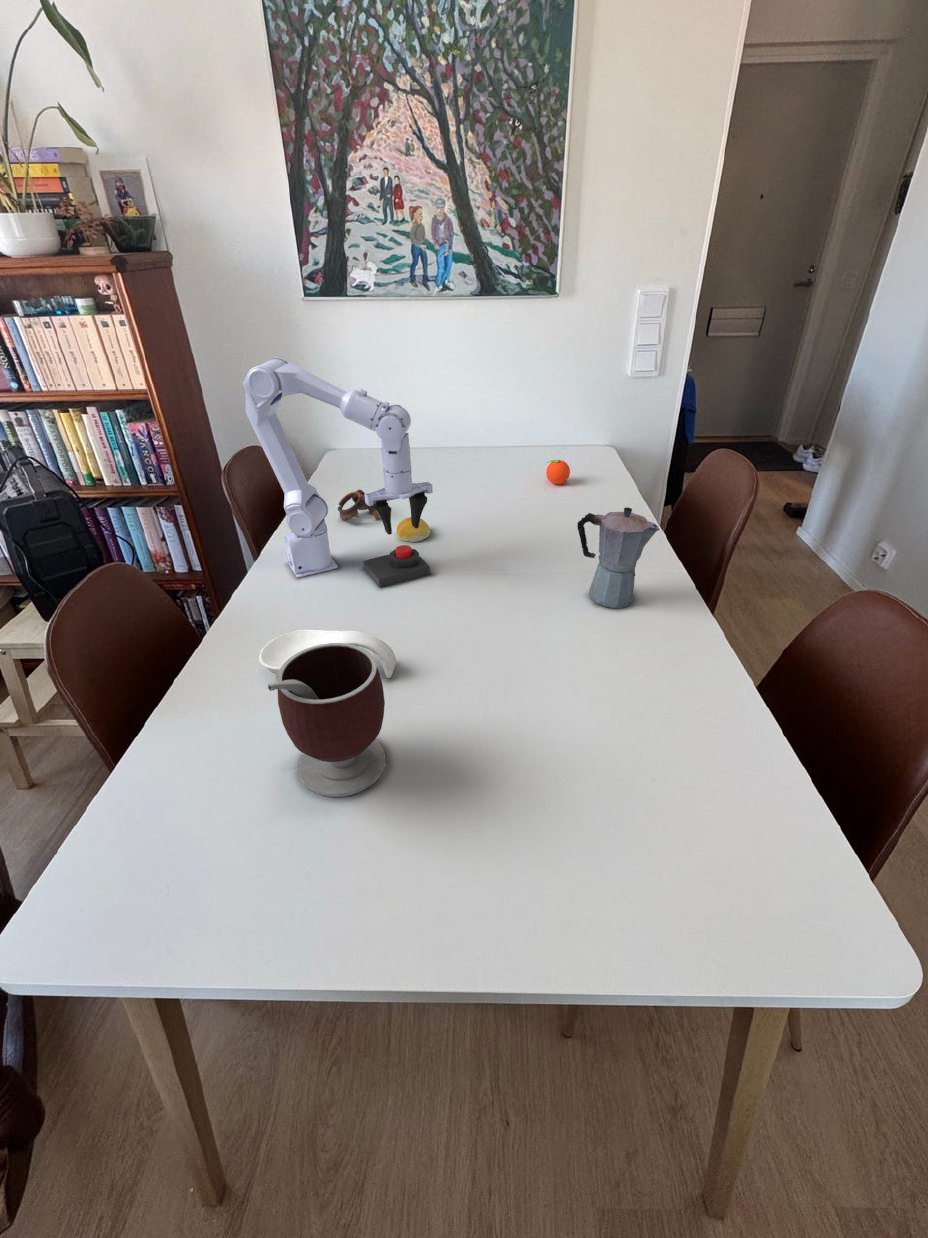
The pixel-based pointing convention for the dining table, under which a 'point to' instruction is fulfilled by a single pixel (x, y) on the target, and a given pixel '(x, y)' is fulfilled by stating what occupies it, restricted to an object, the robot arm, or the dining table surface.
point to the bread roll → (412, 530)
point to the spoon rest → (299, 640)
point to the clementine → (557, 471)
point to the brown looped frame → (355, 505)
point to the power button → (403, 551)
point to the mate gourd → (333, 716)
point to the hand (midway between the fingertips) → (402, 529)
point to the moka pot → (616, 554)
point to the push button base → (396, 568)
